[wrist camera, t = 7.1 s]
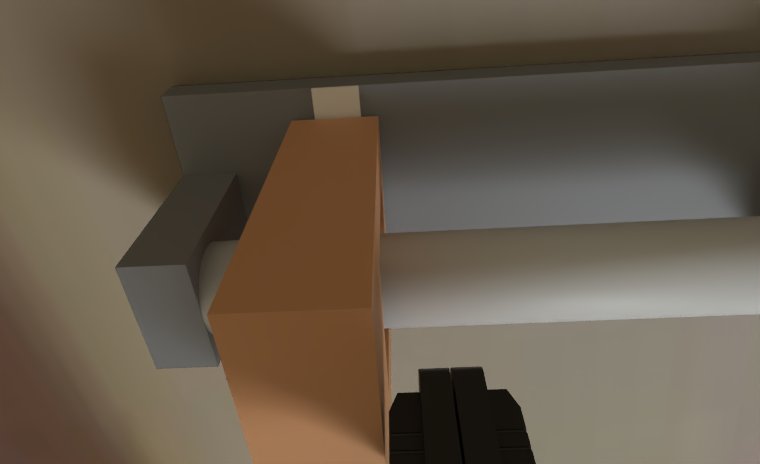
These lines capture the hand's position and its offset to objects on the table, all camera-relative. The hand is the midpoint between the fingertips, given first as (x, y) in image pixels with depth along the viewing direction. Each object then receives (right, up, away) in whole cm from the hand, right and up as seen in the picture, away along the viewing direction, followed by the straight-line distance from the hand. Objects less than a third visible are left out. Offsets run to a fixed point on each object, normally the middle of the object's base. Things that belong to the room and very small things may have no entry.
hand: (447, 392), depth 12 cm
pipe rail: (+3, +5, +9) cm, 11 cm away
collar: (-3, +4, +7) cm, 9 cm away
